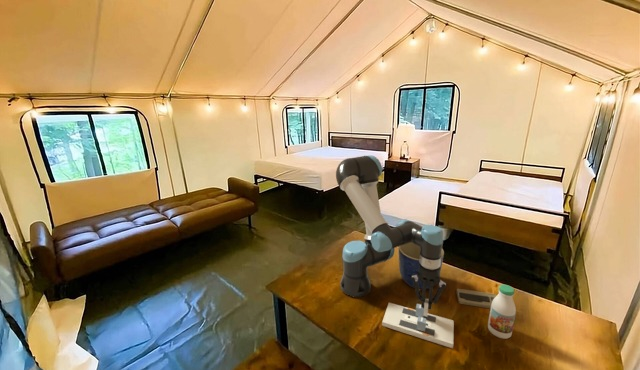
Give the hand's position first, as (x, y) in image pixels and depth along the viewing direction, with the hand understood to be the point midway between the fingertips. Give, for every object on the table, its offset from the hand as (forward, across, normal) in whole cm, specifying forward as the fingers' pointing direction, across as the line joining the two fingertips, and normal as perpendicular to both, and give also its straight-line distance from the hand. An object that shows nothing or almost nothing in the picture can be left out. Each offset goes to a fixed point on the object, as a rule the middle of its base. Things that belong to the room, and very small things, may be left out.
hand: (425, 313), depth 107 cm
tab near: (+1, -1, -7) cm, 7 cm away
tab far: (+1, -2, 0) cm, 2 cm away
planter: (+4, -5, +25) cm, 26 cm away
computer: (+4, +20, +21) cm, 29 cm away
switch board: (+3, -3, -4) cm, 6 cm away
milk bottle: (+4, +26, +6) cm, 27 cm away
